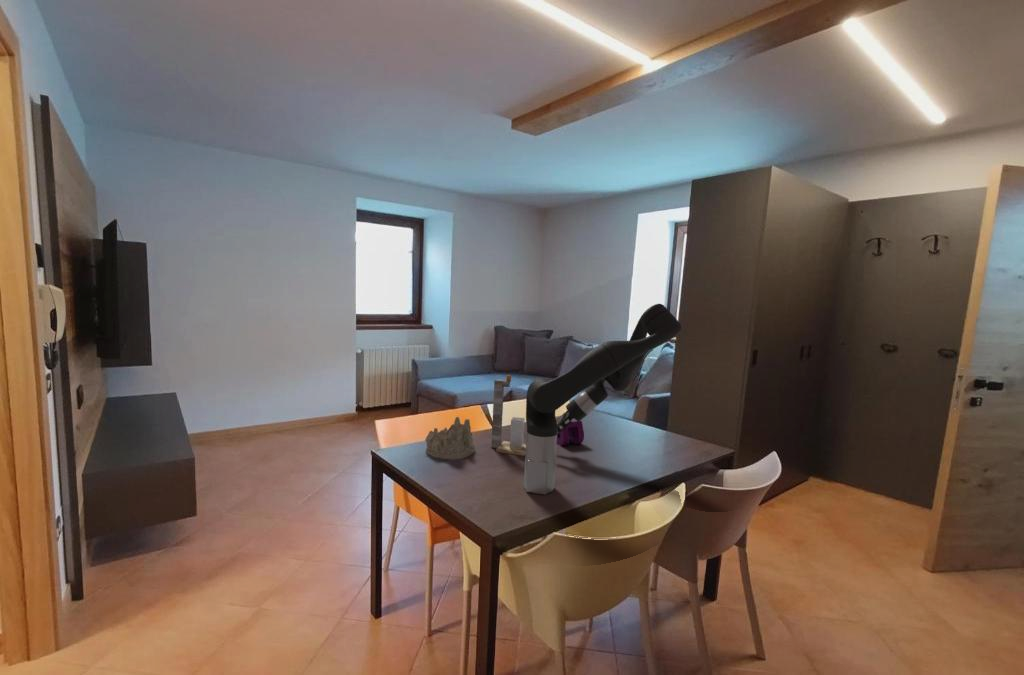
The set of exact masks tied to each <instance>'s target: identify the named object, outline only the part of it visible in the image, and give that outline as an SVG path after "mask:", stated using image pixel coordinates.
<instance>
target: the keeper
mask: <svg viewBox="0 0 1024 675" xmlns="http://www.w3.org/2000/svg"><path fill="white" fill-rule="evenodd" d="M511 382H512V375H511V374H507V375H506V380H505V379H498V378H497V379H495V380H494V382H493V383H494V384H493V401H492V403H493V404H492V421H491V422H492V425H491V427H492V428H491V444H490V446H491V448H494V449H495V452H497V453H503V454H511V455H517V456H523V457H525V453H526V443H524V442H523V447H522V450H517V449H510V440H509V441H507V440H503V441H502V432H503V431H502V430H503V429H502V428H503V414H504V413H503V410H504V391H505V390H504V389H505V388H509V387H510V386H511Z"/></svg>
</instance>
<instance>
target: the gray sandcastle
mask: <svg viewBox="0 0 1024 675" xmlns="http://www.w3.org/2000/svg"><path fill="white" fill-rule="evenodd" d="M471 429H472V428H471V422H470V419H468V418H466V419H464V423H461V420H460V416H456V417H455V419H454V422H453V424H451V425H450V427H449V428H447V427H444V428H443V429H440V431H438V430H439V429H438V428H437V427H434V428H433V431H432V430H429V432H428V434H427V435H426V438H425V442H426V448H425V454H427V455H429V456H431V457H433V458H437V459H443V460H453V461H455V460H460V459H466V458H467V457H468V456H470V455H472V454H474V453H476V446H475V444H474V441H473V433H472V430H471Z"/></svg>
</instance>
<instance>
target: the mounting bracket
mask: <svg viewBox="0 0 1024 675" xmlns="http://www.w3.org/2000/svg"><path fill="white" fill-rule="evenodd" d="M583 425H584V424H583V421H582V420H581V421H576V420H575V421H571V424H569V425H568V426H567V427H566V428H565V429H563V430H562V431H561V432H560V433H557V444H556V445H558V446H566V445H568V444H569V440H570V443H572V442H573V443H572V444H574V445H579V444H582V443H583V441H585V440H584V439H585V431H584V427H583ZM558 427H559V426H558ZM559 428H560V427H559Z"/></svg>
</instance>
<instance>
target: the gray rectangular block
mask: <svg viewBox="0 0 1024 675" xmlns="http://www.w3.org/2000/svg"><path fill="white" fill-rule="evenodd" d="M525 421H526V417H517V416H515V417H511V419H510V429H509V430H510V432H509V442H510V449H517V450H522V447H523V443H524V440H525V439H524V436H525V434H524V433H525Z"/></svg>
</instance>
